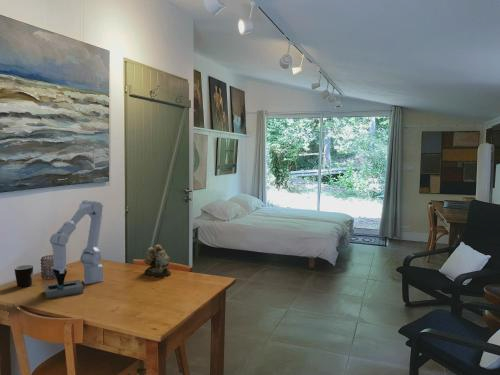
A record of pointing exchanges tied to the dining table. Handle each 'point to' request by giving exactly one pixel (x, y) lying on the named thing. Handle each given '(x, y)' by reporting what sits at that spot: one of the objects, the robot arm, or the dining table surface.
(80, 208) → the robot arm
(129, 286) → the dining table surface
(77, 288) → the keyhole plate
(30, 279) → the coffee mug
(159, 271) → the grey lumpy cluster
